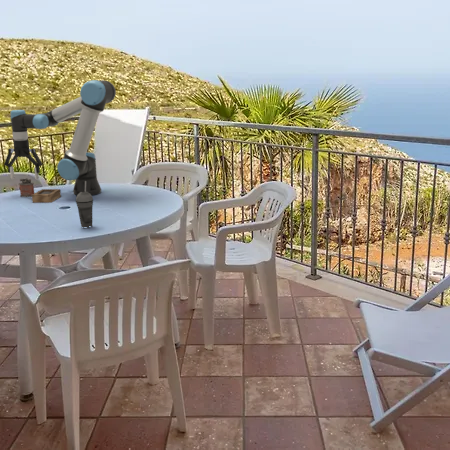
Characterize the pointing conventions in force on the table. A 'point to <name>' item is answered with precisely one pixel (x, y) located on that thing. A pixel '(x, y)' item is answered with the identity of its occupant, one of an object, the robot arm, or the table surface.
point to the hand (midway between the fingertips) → (24, 178)
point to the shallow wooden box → (46, 196)
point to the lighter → (26, 188)
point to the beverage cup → (85, 207)
